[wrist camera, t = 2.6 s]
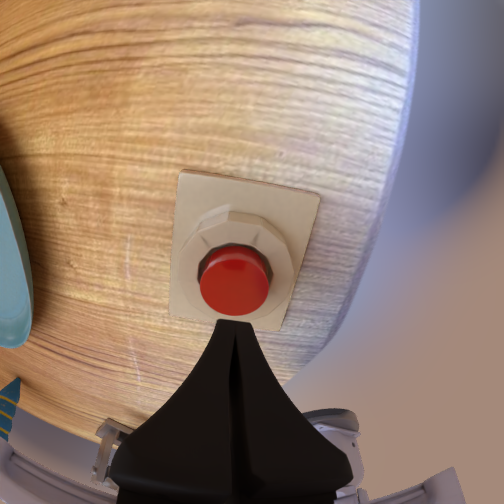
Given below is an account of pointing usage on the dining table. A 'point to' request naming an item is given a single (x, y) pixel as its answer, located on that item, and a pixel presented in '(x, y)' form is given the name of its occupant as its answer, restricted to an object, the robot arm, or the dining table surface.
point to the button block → (238, 240)
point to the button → (234, 281)
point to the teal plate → (13, 274)
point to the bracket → (106, 448)
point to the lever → (107, 479)
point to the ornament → (8, 406)
